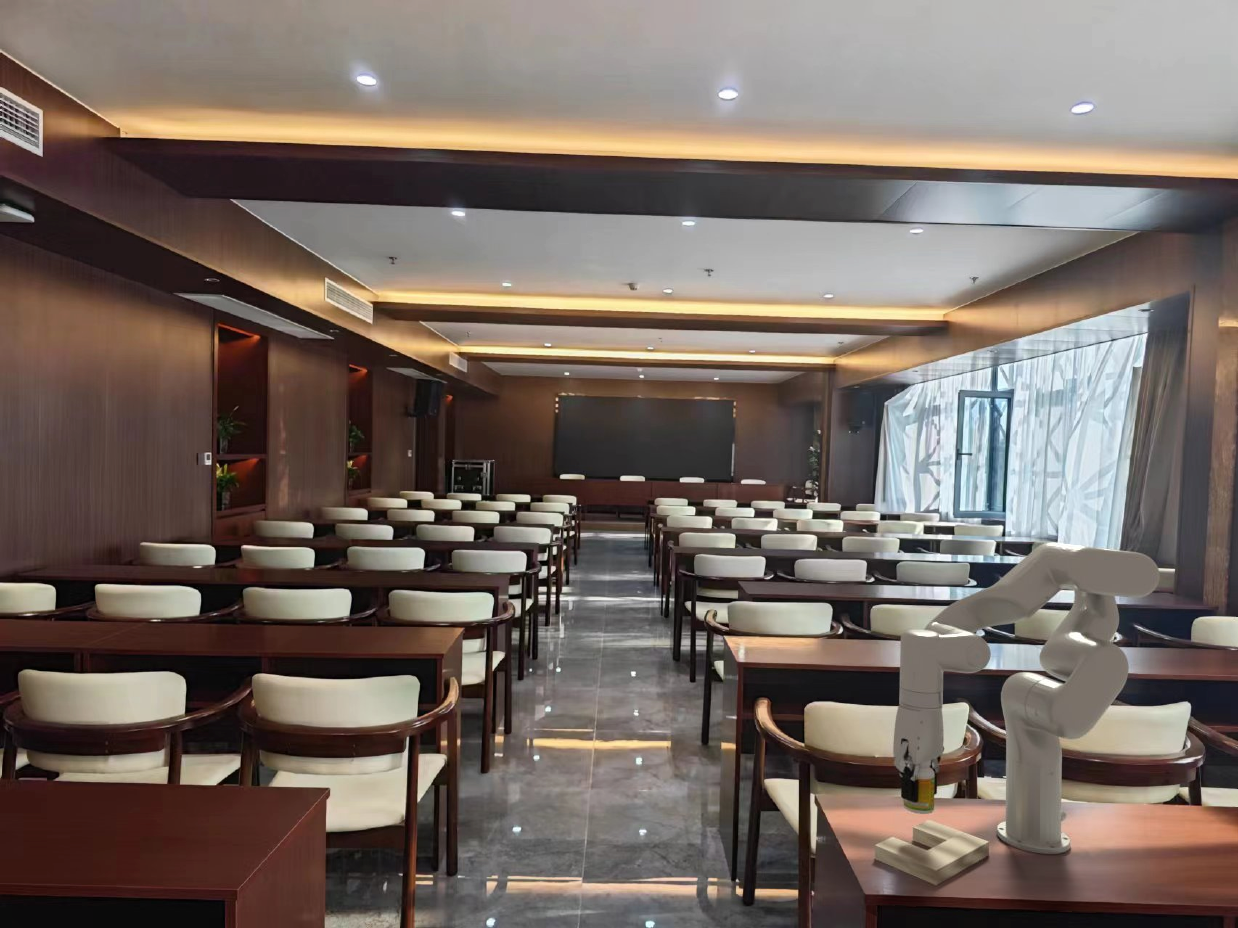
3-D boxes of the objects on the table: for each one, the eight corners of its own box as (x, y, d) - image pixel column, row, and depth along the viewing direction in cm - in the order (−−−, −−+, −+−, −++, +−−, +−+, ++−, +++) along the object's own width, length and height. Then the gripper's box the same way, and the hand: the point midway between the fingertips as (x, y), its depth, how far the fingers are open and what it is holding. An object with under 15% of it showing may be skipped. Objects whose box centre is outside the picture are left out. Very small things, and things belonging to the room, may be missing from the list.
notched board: (928, 832, 161) (928, 819, 161) (988, 855, 152) (988, 841, 152) (874, 858, 150) (874, 844, 150) (935, 885, 140) (936, 870, 140)
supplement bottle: (936, 816, 150) (937, 762, 150) (905, 813, 151) (906, 759, 151) (931, 804, 155) (932, 752, 155) (901, 801, 156) (902, 749, 156)
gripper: (927, 686, 161) (925, 780, 161) (876, 700, 150) (874, 800, 150) (964, 695, 155) (962, 792, 155) (913, 710, 145) (911, 814, 144)
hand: (919, 795), depth 153 cm, fingers closed on supplement bottle, 5 cm apart
